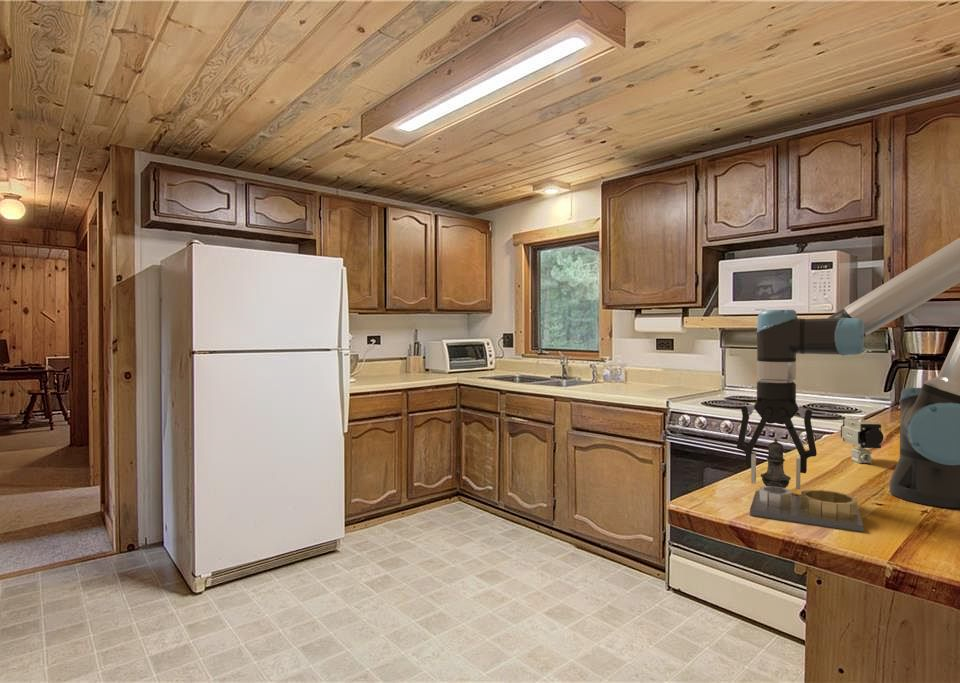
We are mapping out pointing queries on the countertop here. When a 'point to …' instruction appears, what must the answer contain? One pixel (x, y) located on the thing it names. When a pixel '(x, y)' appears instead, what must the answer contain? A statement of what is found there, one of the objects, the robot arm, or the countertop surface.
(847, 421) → the pneumatic valve
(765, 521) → the countertop surface
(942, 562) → the countertop surface
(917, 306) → the robot arm
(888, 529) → the countertop surface
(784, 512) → the plate
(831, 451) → the countertop surface
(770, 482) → the salt shaker
